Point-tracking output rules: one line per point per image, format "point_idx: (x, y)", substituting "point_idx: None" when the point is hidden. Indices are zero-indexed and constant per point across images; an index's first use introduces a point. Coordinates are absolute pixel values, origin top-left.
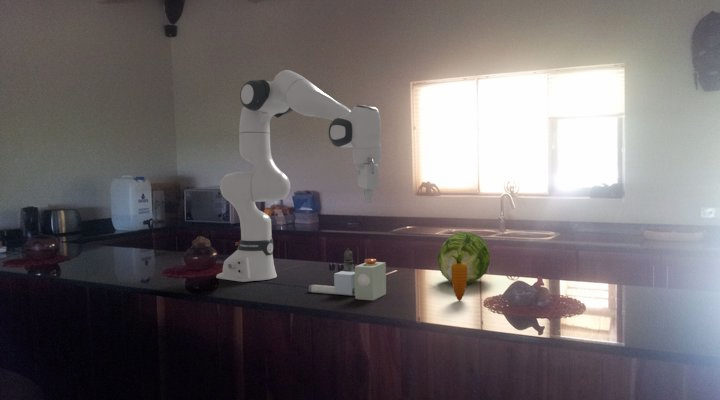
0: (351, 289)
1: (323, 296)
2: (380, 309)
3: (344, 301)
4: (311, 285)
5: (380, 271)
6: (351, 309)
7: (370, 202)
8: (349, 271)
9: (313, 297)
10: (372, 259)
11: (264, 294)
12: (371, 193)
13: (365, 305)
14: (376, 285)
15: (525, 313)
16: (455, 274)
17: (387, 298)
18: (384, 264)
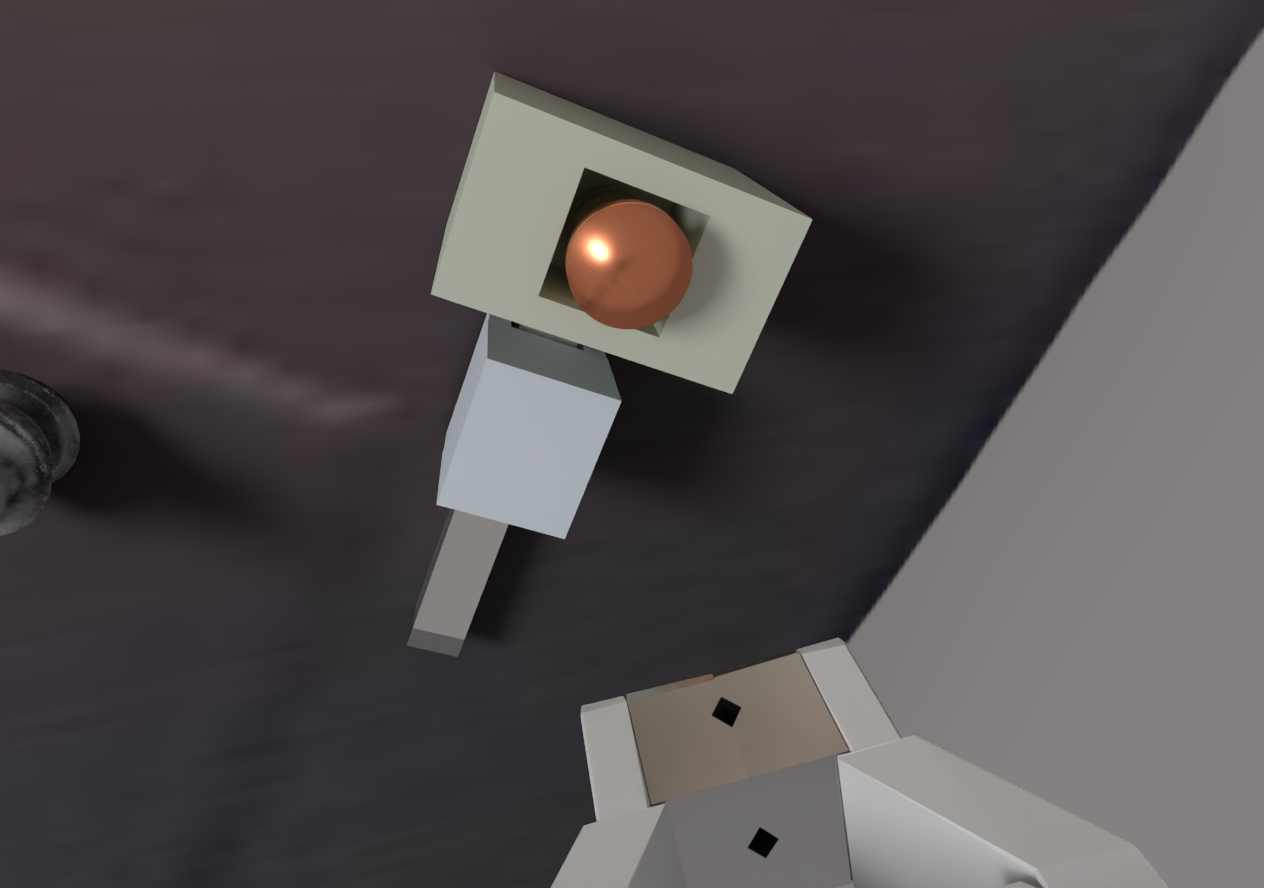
0: (606, 358)
1: (593, 521)
2: (1005, 101)
3: (747, 369)
4: (444, 643)
5: (627, 140)
6: (972, 299)
7: (837, 655)
8: (13, 460)
9: (623, 572)
10: (614, 248)
11: (543, 828)
12: (1056, 827)
13: (877, 216)
14: (700, 161)
15: None
16: None
17: (663, 55)
18: (530, 104)
